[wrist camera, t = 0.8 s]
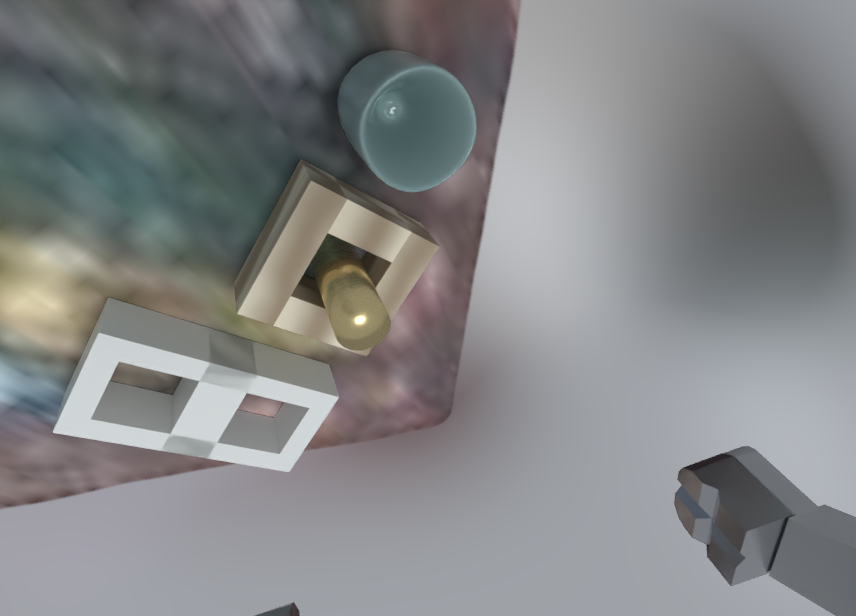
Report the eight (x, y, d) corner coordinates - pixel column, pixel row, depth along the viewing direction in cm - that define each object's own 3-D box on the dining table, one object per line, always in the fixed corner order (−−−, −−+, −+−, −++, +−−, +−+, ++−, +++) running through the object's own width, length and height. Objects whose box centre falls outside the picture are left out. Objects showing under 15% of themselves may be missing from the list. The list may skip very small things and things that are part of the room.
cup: (391, 19, 38) (441, 36, 30) (442, 110, 43) (496, 145, 35) (306, 85, 38) (333, 119, 30) (366, 168, 43) (403, 215, 35)
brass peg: (299, 261, 46) (323, 341, 36) (321, 222, 44) (353, 294, 35) (338, 277, 48) (372, 356, 38) (361, 241, 47) (401, 314, 37)
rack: (65, 390, 45) (52, 432, 41) (108, 297, 42) (98, 332, 38) (283, 435, 56) (289, 471, 52) (329, 364, 53) (339, 397, 49)
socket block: (234, 282, 44) (237, 313, 41) (300, 159, 41) (310, 180, 37) (354, 325, 51) (366, 356, 47) (420, 222, 48) (440, 246, 44)
